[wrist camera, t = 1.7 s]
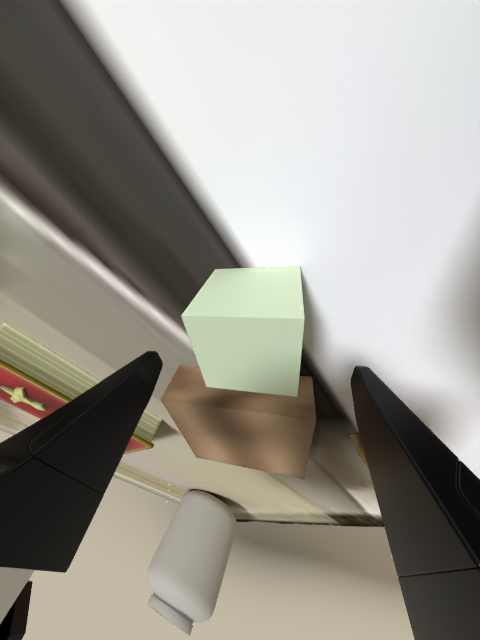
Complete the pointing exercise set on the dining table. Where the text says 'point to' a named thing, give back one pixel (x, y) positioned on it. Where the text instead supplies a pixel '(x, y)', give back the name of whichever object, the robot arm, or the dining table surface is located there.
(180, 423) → the walnut block
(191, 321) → the green cube
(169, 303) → the dining table surface
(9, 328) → the hardcover book
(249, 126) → the dining table surface
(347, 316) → the dining table surface
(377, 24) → the dining table surface
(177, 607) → the jar
